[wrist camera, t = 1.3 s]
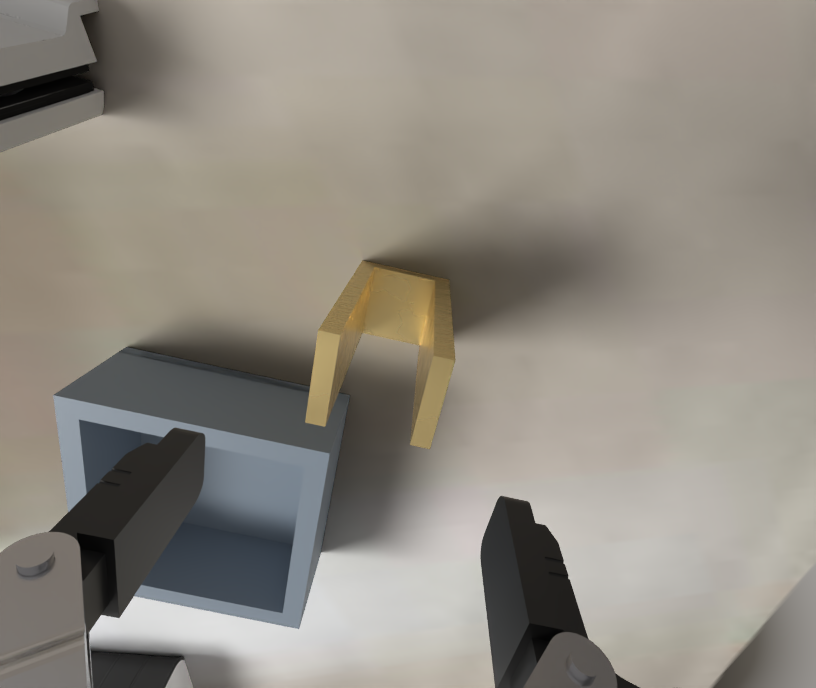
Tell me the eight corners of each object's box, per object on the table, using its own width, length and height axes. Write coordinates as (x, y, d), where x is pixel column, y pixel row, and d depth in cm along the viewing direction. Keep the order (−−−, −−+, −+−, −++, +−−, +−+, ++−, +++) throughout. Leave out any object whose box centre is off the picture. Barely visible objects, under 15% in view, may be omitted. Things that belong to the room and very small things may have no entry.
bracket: (449, 279, 26) (455, 360, 16) (432, 342, 27) (429, 449, 18) (362, 260, 26) (318, 330, 16) (351, 324, 27) (305, 422, 18)
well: (350, 395, 29) (329, 453, 24) (320, 552, 35) (299, 628, 30) (126, 347, 29) (53, 395, 23) (134, 514, 35) (77, 584, 29)
